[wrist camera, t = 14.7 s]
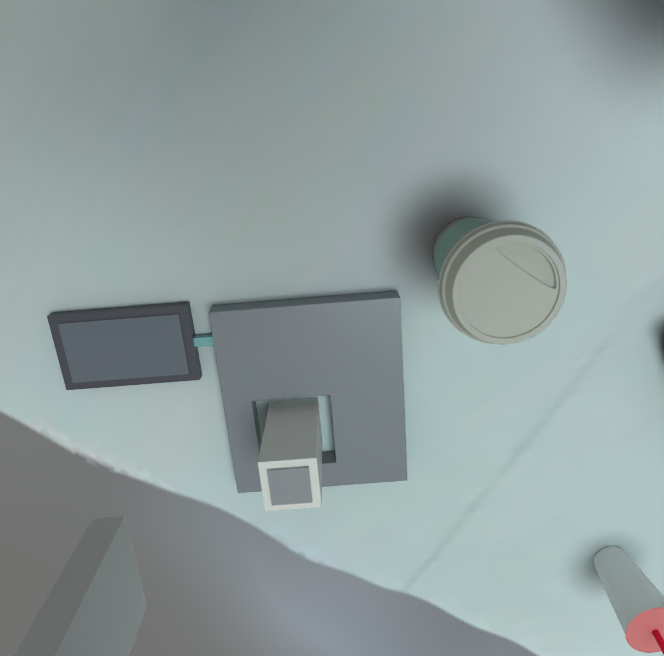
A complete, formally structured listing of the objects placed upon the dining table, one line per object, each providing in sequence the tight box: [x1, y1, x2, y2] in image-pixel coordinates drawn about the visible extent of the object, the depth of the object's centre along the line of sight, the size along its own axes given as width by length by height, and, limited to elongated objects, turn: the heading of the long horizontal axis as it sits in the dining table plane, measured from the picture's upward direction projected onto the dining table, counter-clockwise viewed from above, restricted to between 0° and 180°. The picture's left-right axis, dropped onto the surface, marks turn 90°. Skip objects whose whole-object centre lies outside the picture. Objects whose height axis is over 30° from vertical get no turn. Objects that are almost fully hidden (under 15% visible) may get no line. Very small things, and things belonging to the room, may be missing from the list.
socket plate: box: [209, 291, 407, 493], centre depth 52 cm, size 18×16×2 cm
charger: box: [258, 398, 322, 511], centre depth 49 cm, size 4×4×10 cm
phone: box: [47, 302, 214, 390], centre depth 51 cm, size 7×20×1 cm, turn 95°
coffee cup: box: [433, 217, 567, 344], centre depth 43 cm, size 8×8×12 cm
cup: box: [594, 546, 664, 654], centre depth 55 cm, size 5×5×12 cm
